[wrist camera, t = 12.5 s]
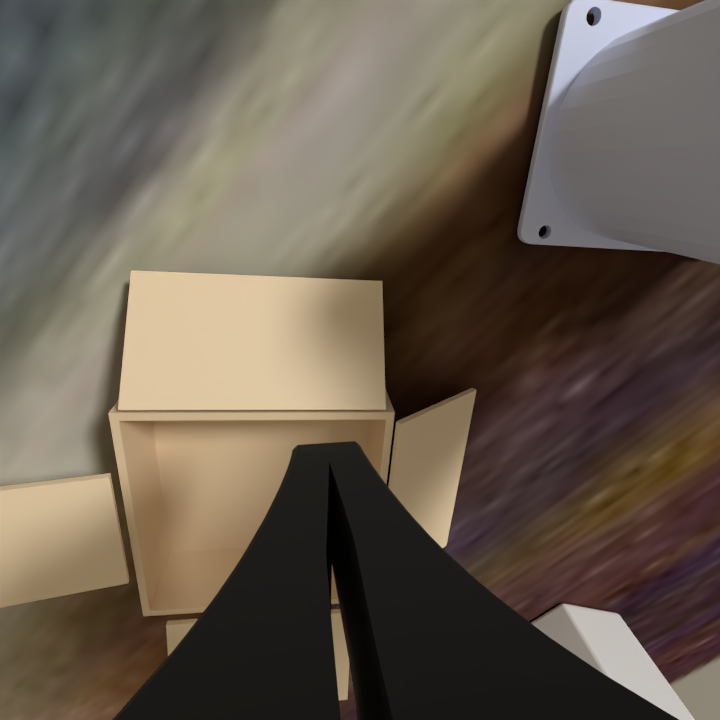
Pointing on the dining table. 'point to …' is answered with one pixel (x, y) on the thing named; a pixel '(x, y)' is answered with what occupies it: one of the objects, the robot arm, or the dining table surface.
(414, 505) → the flap
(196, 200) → the dining table surface
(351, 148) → the dining table surface
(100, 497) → the flap
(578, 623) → the jar
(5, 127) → the dining table surface
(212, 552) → the carton
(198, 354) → the flap
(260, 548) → the robot arm
